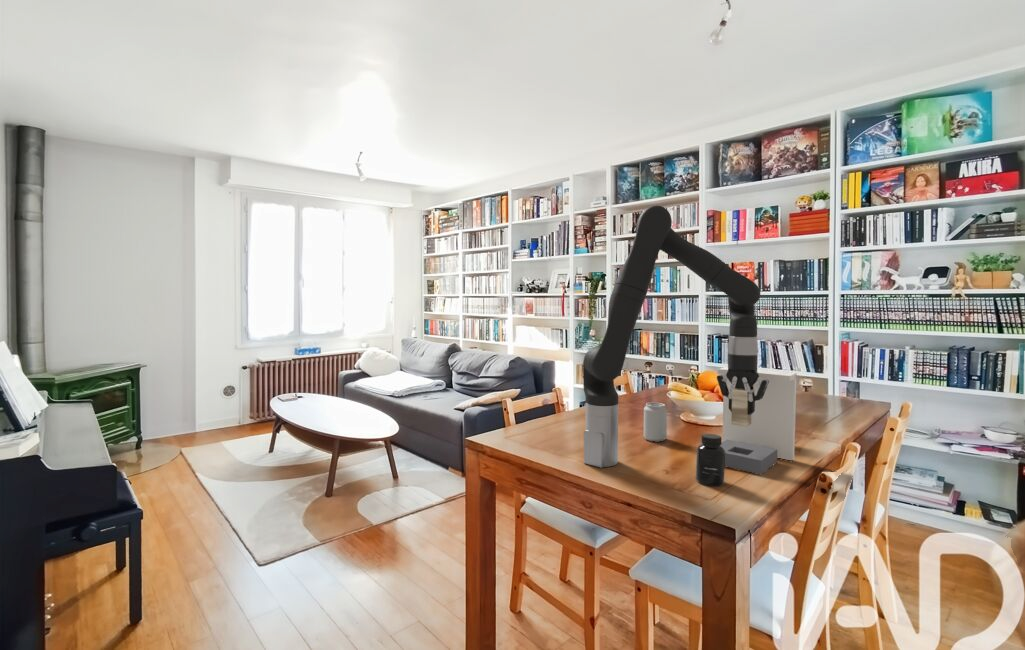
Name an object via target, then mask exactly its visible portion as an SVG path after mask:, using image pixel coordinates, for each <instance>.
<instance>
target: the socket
mask: <svg viewBox="0 0 1025 650" xmlns="http://www.w3.org/2000/svg"><path fill="white" fill-rule="evenodd" d="M721 442H722V441H721ZM720 446H721V447H723V448H724V450H725V466H727V467H730V468H729V469H731V468H734V469H733V470H736V469H739V470H738V471H740V470H743V471H742V472H744V471H748V472H747V473H749V472H752V473H751V474H753V473H757V474H756V475H758V474H762V473H763V474H764V472H765V471H766V470H767V469H768V468H770V467H771V466H772V465H773V464H775V463H776V462H777V463H778V459H777V449H775V448H770V447H765V446H759V445H754V444H749V443H744V442H738V441H733V440H728V439H727V440H726V441H724V442H722V444H721V445H720ZM777 463H776V464H777ZM776 464H775V465H776ZM773 466H774V465H773ZM773 466H772V467H773ZM727 467H726V468H727ZM772 467H771V468H772ZM771 468H770V469H771ZM768 470H769V469H768ZM768 470H767V471H768ZM767 471H766V472H767ZM766 472H765V473H766ZM763 474H762V475H763Z"/></svg>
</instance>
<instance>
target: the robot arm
mask: <svg viewBox="0 0 1025 650" xmlns="http://www.w3.org/2000/svg"><path fill="white" fill-rule="evenodd" d="M671 216H672V215H671V213H670V212H669V210H668V209H667V208H666V207H664V206H661V205H653V206H650V207H647V208H646V209H645V210H643V212H641V214H640V216H638V218H637V222H636V224H635V232H636V233H635V236H634V240H633V243H632V247H631V250H630V252H629V254H628V257H626V259H625V261H624V264H623V266H622V267H621V270H620V272H619V274H618V276H617V278H616V281H615V284H614V285H613V288H612V292H611V295H610V297H609V300H608V301H609V302H608V309H607V310H608V311H607V312H608V314H607V326H606V330H605V333H604V336H603V339H602V341H601V343H600V345H599V346H598V345H597V346H593V347H591V348H589V349H588V350H587V352H586V353H585V355H584V357H583V361H582V375H583V376H582V380H583V383H582V384H583V391H584V395H585V429H584V431H583V463H584V464H586V465H589V466H590V465H591V466H593V467H598V468H600V469H601V468H607V467H613V466H616V465H618V463H619V461H618V459H619V394H618V391H617V390H616V388H615V383H614V380H615V379H617V378H618V377H619V375H620V374H621V372H622V370H623V367H624V365H625V360H626V356H627V352H628V348H629V344H630V340H631V336H632V334H633V332H634V329H635V325H636V323H637V322H638V321H637V320H638V318H639V315H640V312H641V310H642V308H643V305H644V302H645V299H646V296H647V294H648V291H649V286H650V284H651V280H652V276H653V274H654V273H653V272H654V269H655V264H656V261H657V257H658V255H659V253H660V251H662V252H664V253H666V255H669V256H670V257H671V258H674V259H675V260H677V261H678V262H679V263H681V264H682V265H683V266H685V267H686V268H688V270H690V271H692V272H693V273H694V274H695V275H697V276H698V277H700V278H701V280H703V281H704V282H706V283H708V284H709V285H710V286H712V287H714V288H716V289H718V290H719V291H721V292H722V293H724V294H725V295H726V296H727V302H728V304H727V305H728V312H729V333H728V334H729V337H728V344H727V345H728V347H727V350H728V351H727V367H728V371H727V373H726V374H725V375H724V374H718V375H717V376H716V380H717V383H718V387H719V390H720V392H721V395H722V397H723V396H726V397H728V399H729V410H731V412H732V389H735V388H742V389H745V391H747V393H748V400H749V401H748V415H751V414H752V413H754V411H755V401H756V400H760V399H762V398H763V396H764V393H765V391H766V388H767V386H768V384H769V380H768V379H766V380H765V379H763V378H760V377H759V375H758V373H757V370H758V362H759V361H758V360H759V359H758V358H759V357H758V355H759V347H758V345H759V343H758V320H757V318H756V316H755V304H756V303H757V302H758V301H759V300H760V297H761V290H760V288H759V285H757V284H756V283H755V282H754V281H753V280H751V279H750V278H748V277H747V276H745V275H743V274H742V273H740V272H738V271H736V270H734V269H733V268H732V267H730V266H729V265H728V264H727V263H725V262H724V260H721V259H720V258H719V257H717V256H716V255H715V254H713V253H712V252H710V251H708V250H706V249H704V248H703V247H701V246H698V245H696V244H694V243H692V242H690V241H688V240H686V239H685V238H683V237H682V236H681V235H679V233H677V232H675V231H674V229H673V228H672V217H671ZM727 378H728V380H729V381H730V382H731V387H730V392H729V390H728V387H727V384H726V381H727ZM757 381H758V385H759V386H760V387H759V390H758V392H757V395H756V396H755V393H754V391H755V390H754V386H753V385H754V384H755V383H756V382H757Z"/></svg>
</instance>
